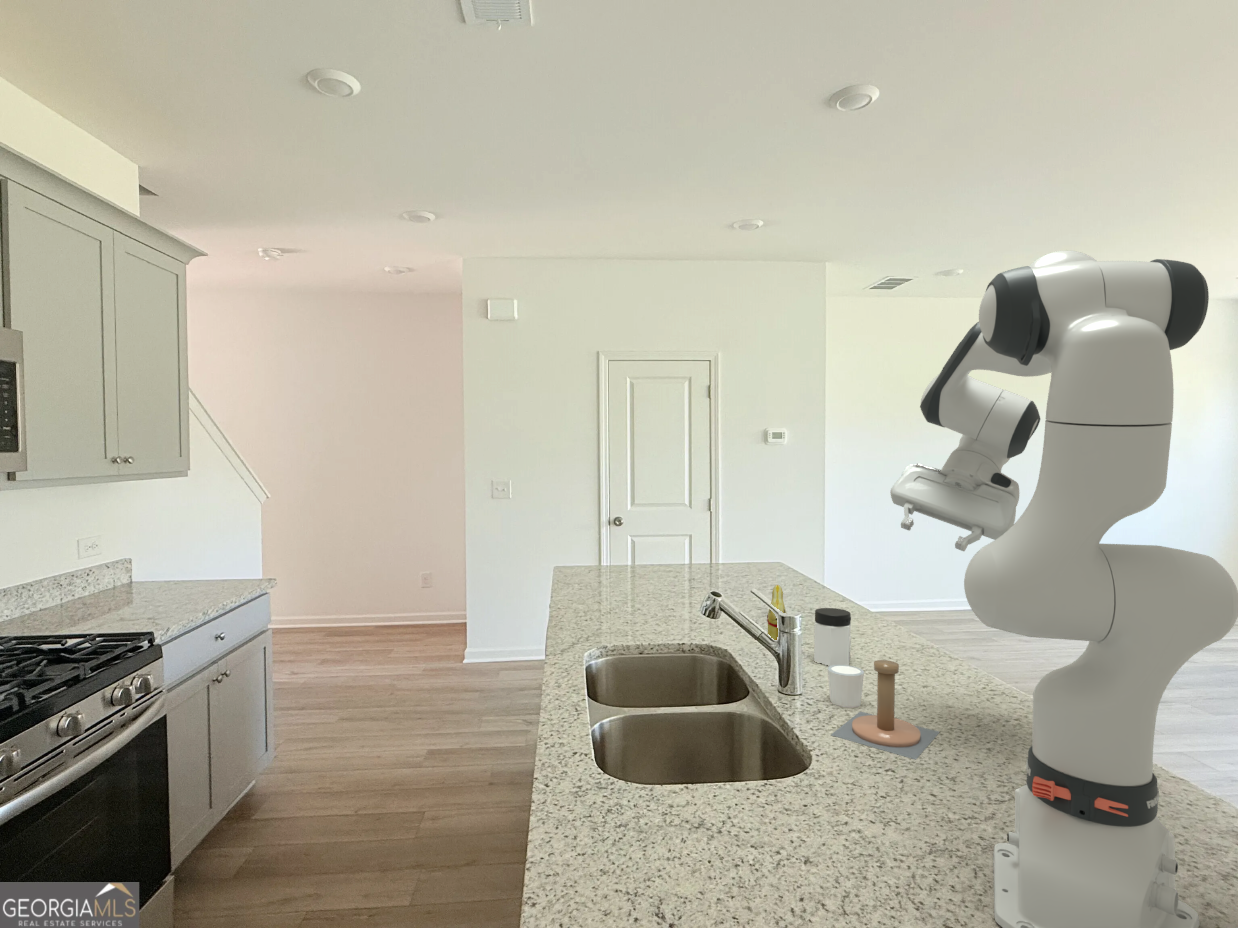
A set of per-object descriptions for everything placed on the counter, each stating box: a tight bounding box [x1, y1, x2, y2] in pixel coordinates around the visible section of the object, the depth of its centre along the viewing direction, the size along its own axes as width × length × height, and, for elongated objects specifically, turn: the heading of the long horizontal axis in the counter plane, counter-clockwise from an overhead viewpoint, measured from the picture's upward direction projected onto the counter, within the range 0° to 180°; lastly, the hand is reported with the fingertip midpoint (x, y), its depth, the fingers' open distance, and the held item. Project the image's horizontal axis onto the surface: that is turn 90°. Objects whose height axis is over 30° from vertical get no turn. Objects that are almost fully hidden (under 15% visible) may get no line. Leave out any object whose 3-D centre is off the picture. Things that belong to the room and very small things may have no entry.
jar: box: [813, 607, 852, 667], centre depth 156 cm, size 9×8×12 cm
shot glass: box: [827, 664, 865, 708], centre depth 129 cm, size 7×7×7 cm
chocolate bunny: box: [766, 584, 787, 640], centre depth 173 cm, size 7×11×15 cm, turn 166°
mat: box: [830, 710, 941, 761], centre depth 114 cm, size 14×14×1 cm
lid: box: [852, 659, 920, 747], centre depth 114 cm, size 11×11×12 cm
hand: (931, 537), depth 114 cm, fingers open, 8 cm apart
